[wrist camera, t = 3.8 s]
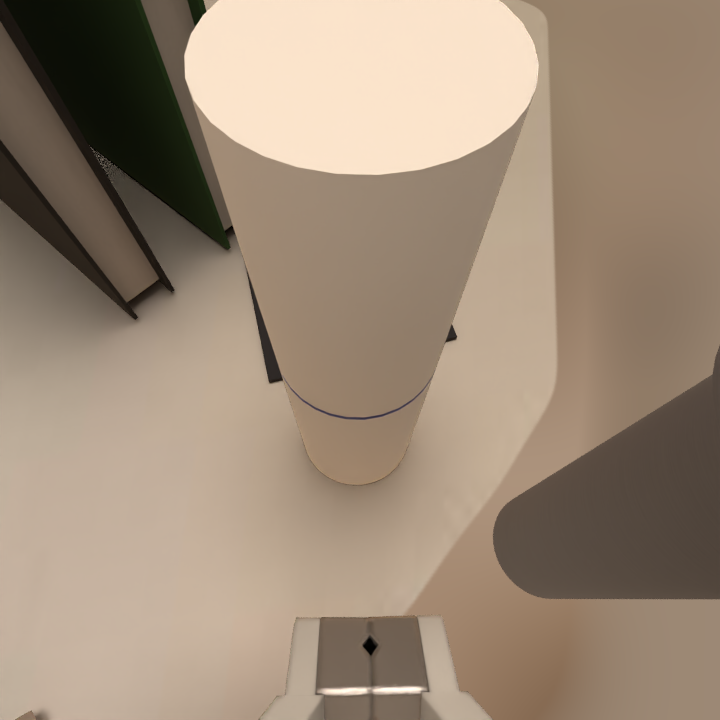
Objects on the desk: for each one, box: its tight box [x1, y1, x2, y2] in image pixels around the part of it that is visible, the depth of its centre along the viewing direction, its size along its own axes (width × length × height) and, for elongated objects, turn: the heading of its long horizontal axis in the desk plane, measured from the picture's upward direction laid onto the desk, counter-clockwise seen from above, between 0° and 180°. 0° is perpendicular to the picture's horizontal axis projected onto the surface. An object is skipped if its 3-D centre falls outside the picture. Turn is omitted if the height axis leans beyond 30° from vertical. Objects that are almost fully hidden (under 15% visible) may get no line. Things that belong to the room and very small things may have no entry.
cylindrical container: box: [184, 0, 539, 485], centre depth 21 cm, size 7×7×25 cm
